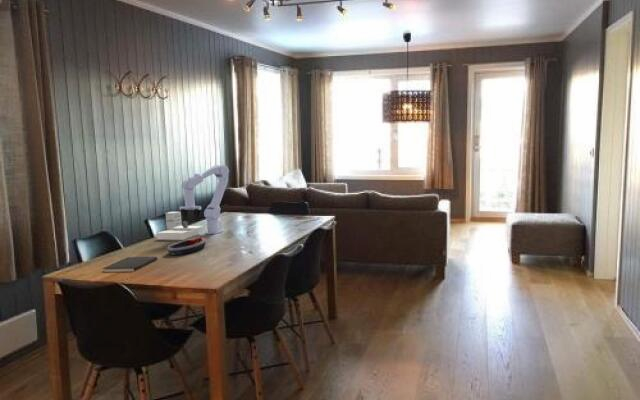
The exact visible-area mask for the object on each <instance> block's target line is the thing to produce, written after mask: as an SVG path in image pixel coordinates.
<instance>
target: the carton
mask: <svg viewBox="0 0 640 400" xmlns="http://www.w3.org/2000/svg"><path fill="white" fill-rule="evenodd" d="M196 237H198V230H197V229H171V230H168V231H167V230H162V231H159V232H156V240H157V239H158V240H157V241H174V242H175V241H176V242H181V241H184V240H189V239H193V238H196Z"/></svg>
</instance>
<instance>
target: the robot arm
mask: <svg viewBox="0 0 640 400" xmlns="http://www.w3.org/2000/svg"><path fill="white" fill-rule="evenodd" d="M229 174H230V169H229V168H228V166H227V165H225V164H222V165H219V164H215V165H213V166H210V168H208V169H206V170H205V171H204V172H202V173H194V175H193V176H192V177H188V179H185V180H183V182H182V184H181V187H182V189H183V192H184V206H179V212H181V216H183V217H182V218H183V219H184V221H185V222H186V221H187V222H188V220H189V216H188V215H189V214H188V213H189V210H190V211H191V210H192V213H193V216H194V222H195V223H196V222H199V217H200V214H201V212H202V206H201V205H196V203H195V191H194V189H195V187H196V186H198V185H200V184H201V183H203V182H204V179H206V178H208V177H210V176H212V175H214V176H215V177H216V179H218V183H217V186H216V188H215V191H214V194H213V197H212V198H211V201H210V203H209V204H208V205H207V207H206V208H205V209H204V211H203V215H204V217H205V219H206V228H207V230H206V231H207V232H205V233H204V234H205V235H217V234H219V233H222V232H224V230H223V228H222V220H221V219H220V216H221V207H220V204H221V201H222V199H223V196H224V194H225V191H226V188H227V185H228V182H229Z"/></svg>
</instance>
